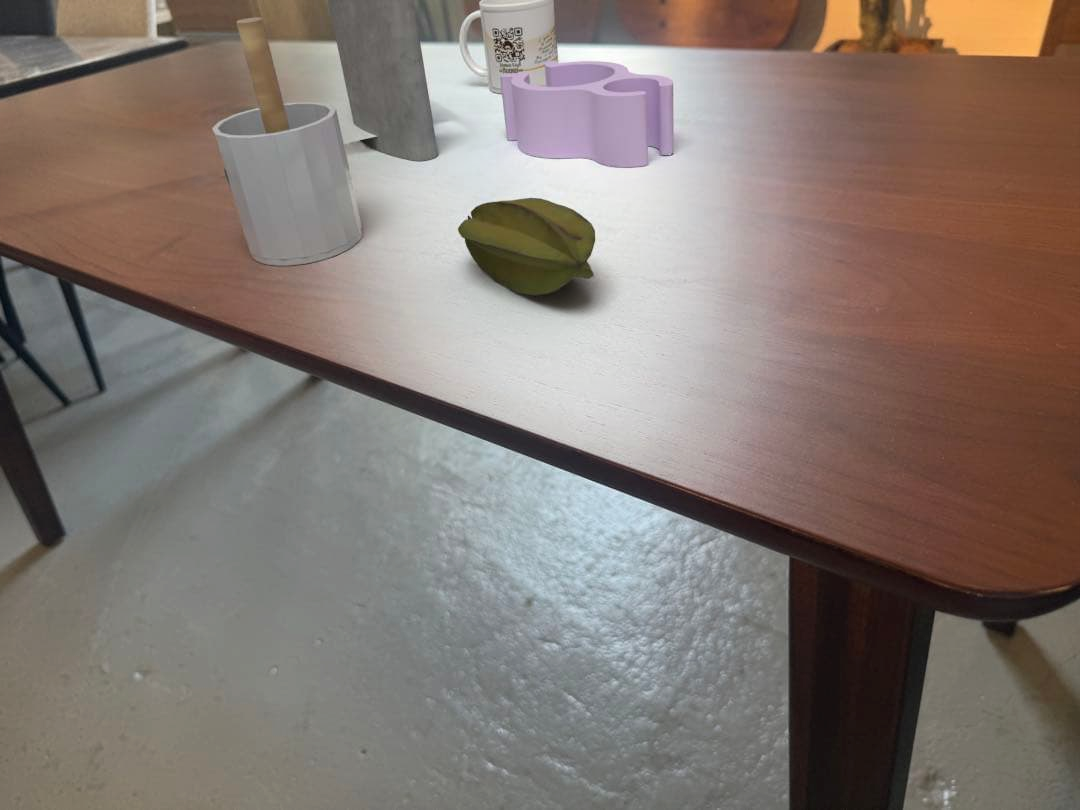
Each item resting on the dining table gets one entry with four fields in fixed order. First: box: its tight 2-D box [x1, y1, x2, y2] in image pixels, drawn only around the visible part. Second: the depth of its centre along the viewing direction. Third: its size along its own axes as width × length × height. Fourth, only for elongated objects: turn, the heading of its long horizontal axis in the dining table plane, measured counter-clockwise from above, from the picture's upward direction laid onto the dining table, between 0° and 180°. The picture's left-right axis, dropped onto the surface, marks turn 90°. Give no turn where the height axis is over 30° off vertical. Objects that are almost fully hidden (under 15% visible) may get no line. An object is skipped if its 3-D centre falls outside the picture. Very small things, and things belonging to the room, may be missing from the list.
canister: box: [211, 101, 363, 267], centre depth 74 cm, size 10×10×11 cm
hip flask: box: [327, 0, 439, 162], centre depth 94 cm, size 16×4×20 cm, turn 38°
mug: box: [458, 0, 559, 95], centre depth 116 cm, size 10×12×11 cm
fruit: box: [457, 197, 596, 296], centre depth 64 cm, size 11×12×7 cm
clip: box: [500, 60, 675, 168], centre depth 92 cm, size 20×12×7 cm, turn 41°
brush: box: [235, 16, 290, 134], centre depth 72 cm, size 4×4×18 cm
